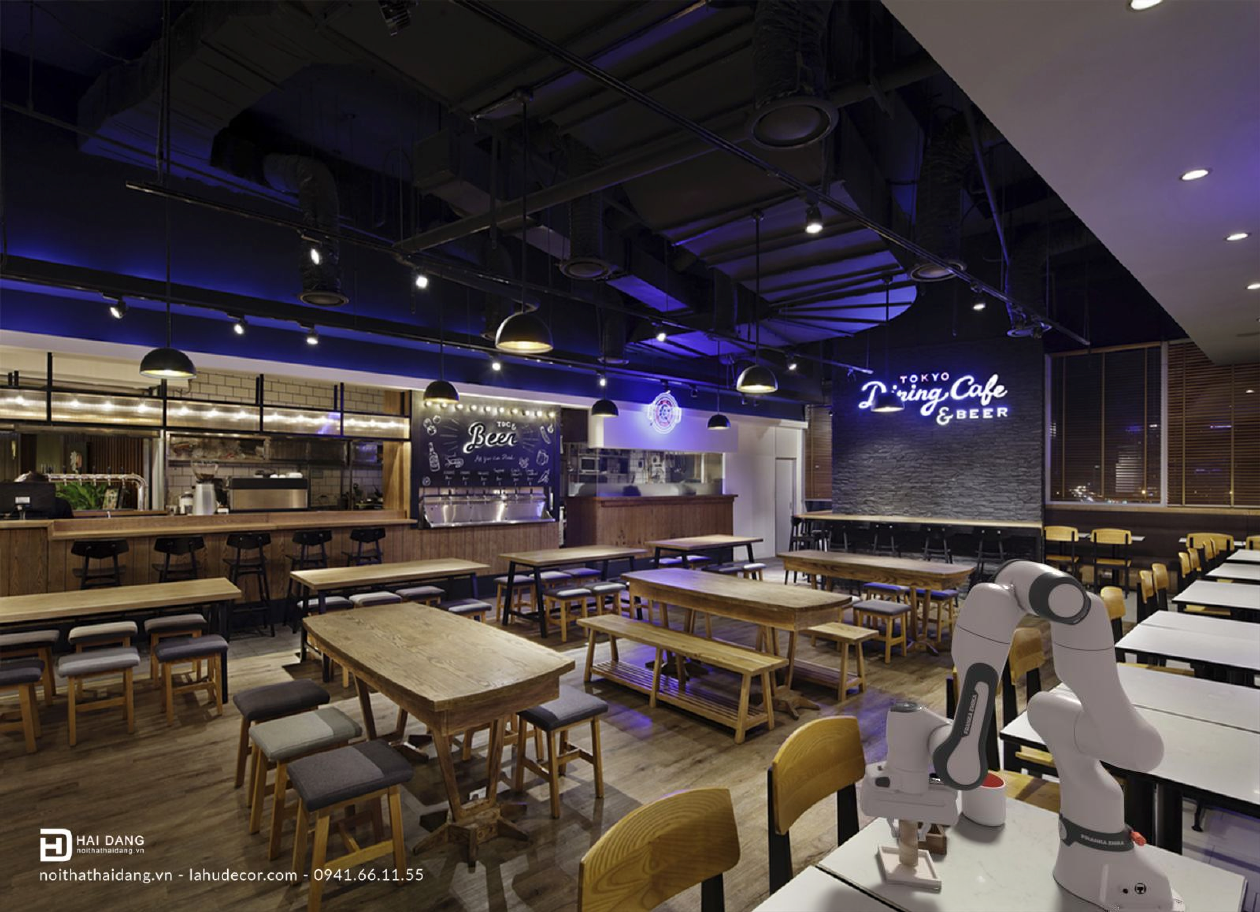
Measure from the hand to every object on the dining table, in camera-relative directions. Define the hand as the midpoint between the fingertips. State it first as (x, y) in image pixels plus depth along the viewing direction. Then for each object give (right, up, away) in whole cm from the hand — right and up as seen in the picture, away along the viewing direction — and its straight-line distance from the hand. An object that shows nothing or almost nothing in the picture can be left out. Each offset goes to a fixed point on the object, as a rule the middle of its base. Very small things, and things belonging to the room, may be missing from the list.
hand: (908, 838), depth 140 cm
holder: (+8, -7, +10) cm, 15 cm away
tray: (0, -7, 0) cm, 7 cm away
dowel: (0, -5, 0) cm, 5 cm away
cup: (+29, -8, +21) cm, 37 cm away
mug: (+17, -8, +19) cm, 27 cm away
